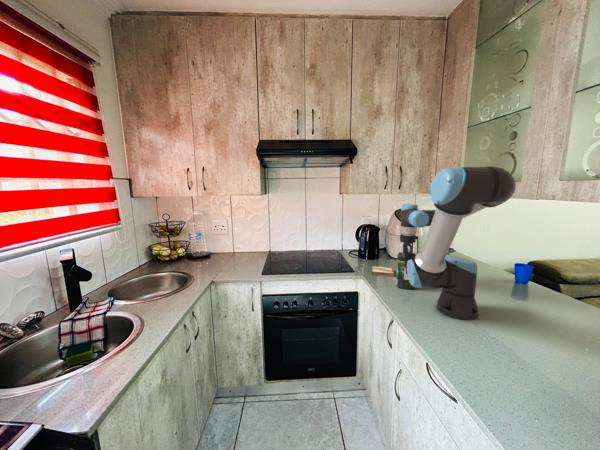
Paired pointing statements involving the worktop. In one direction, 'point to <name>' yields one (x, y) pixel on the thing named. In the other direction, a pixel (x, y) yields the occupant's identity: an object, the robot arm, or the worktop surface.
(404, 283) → the coffee jar
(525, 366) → the worktop surface
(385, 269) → the tan flat block
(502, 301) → the worktop surface
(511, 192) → the robot arm
